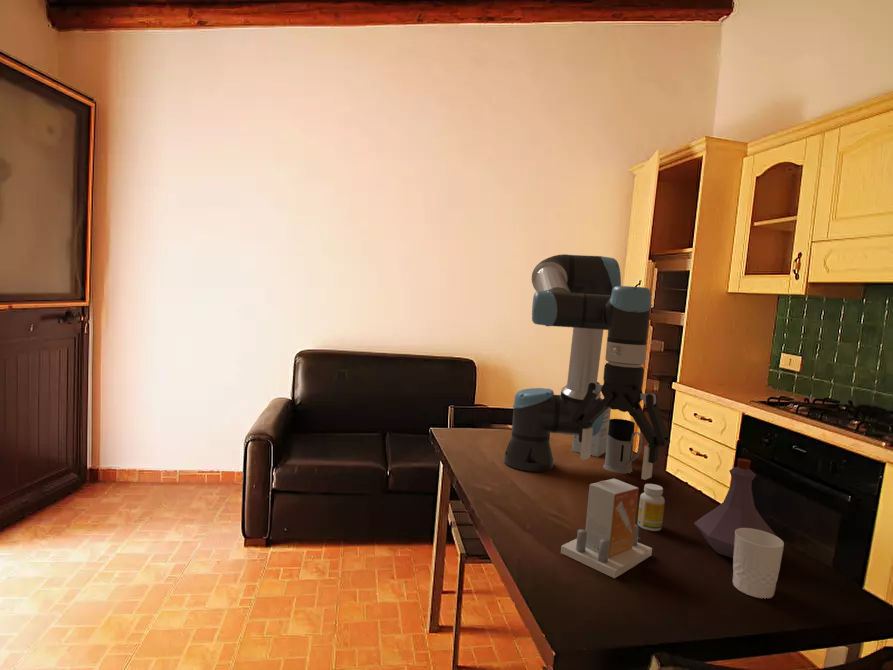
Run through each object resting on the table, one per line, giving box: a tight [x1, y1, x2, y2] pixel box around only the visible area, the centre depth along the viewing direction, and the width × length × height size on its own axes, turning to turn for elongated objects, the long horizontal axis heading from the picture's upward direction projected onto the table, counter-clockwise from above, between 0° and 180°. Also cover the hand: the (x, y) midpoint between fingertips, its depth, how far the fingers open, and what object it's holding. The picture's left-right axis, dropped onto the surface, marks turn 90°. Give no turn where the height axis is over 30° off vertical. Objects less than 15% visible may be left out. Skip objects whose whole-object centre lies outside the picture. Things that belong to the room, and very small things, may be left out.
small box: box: [584, 478, 640, 558], centre depth 109 cm, size 8×6×13 cm
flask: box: [694, 457, 777, 559], centre depth 114 cm, size 16×16×20 cm
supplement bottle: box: [637, 483, 666, 532], centre depth 124 cm, size 5×5×10 cm
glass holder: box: [602, 418, 644, 475], centre depth 163 cm, size 9×14×15 cm, turn 18°
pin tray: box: [560, 523, 653, 579], centre depth 109 cm, size 12×15×6 cm
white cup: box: [732, 528, 785, 600], centre depth 99 cm, size 8×8×10 cm
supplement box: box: [571, 407, 612, 458], centre depth 183 cm, size 10×9×17 cm
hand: (614, 467), depth 108 cm, fingers open, 13 cm apart
